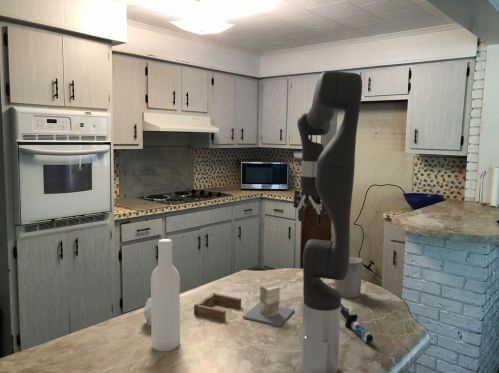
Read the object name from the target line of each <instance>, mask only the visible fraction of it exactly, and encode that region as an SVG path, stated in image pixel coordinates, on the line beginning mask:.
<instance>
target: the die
mask: <svg viewBox="0 0 499 373" xmlns="http://www.w3.org/2000/svg"><path fill="white" fill-rule="evenodd" d="M142 314H143V316H144V318H145V321H146V323H147V325H148V326H149V327H151V297H149V298H147V301H146V303H145V305H144V308H143V310H142Z"/></svg>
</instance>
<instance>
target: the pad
mask: <svg viewBox="0 0 499 373" xmlns="http://www.w3.org/2000/svg"><path fill="white" fill-rule="evenodd" d="M294 312H295V308H289V307H285V306H280V305H279V314H276V315H273V316H269V317H268V316H266V315H264V314H262V313H260V301H259V302H257V304H255V306H253V307H252V308H251V309H250V310H248V312H246V313H245V314H244V315H243V316H242V319H245V320H249V321H254V322H259V323H264V324H267V325H268V324H269V325H272V326H277V327H282V326H283V324H285V322H286V321H287V320H288V319H289V318H290V317H291V316H292V314H293V313H294Z"/></svg>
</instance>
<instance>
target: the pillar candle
mask: <svg viewBox="0 0 499 373" xmlns="http://www.w3.org/2000/svg"><path fill="white" fill-rule="evenodd" d="M362 268H363V259H362V258H360V257H358V256H355V255H350V254H349V267H348V272H347V275H346V277H345V279H343V280H334V289H335V290H337V291H338V292H339V293H340V295H341V298H344V299H354V298H355V299H356V298H359V297H360V296H361V288H362V287H361V285H362V272H363V271H362Z"/></svg>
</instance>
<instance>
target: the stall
mask: <svg viewBox="0 0 499 373" xmlns="http://www.w3.org/2000/svg"><path fill="white" fill-rule="evenodd" d="M213 304H218V305H223V306H227V307H231V308H235V309H241V308H242V298H239V297H237V296H236V297H234V296H230V295H225V294H220V293H215V292H212V293H211V294H209V295H207V296H206V297H205V298H203V299H201V300H200V301H199V302H197V303H195V304H193V314H194V315H196V316H197V315H198V316H201V317H205V318H209V319H214V320H217V321H222V322H225V321H226V318H227V316H226V314H227V313H226V312H227V311H226V310H224V309H219V308H215V307H211V306H212V305H213Z"/></svg>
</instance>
